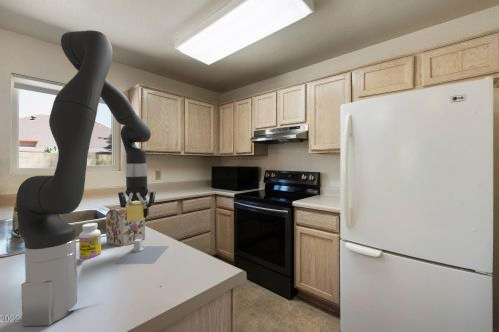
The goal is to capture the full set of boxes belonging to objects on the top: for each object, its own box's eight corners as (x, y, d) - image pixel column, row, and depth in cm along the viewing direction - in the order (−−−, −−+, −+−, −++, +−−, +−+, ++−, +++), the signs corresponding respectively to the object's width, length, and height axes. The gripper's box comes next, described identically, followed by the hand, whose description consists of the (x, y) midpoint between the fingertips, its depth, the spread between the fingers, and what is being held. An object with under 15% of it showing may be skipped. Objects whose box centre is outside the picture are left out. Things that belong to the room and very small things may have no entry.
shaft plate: (153, 266, 78) (153, 251, 78) (113, 267, 78) (112, 252, 77) (169, 248, 94) (169, 236, 94) (135, 249, 94) (135, 236, 93)
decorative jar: (129, 235, 111) (128, 199, 111) (146, 238, 106) (145, 200, 106) (105, 243, 100) (104, 203, 100) (122, 247, 95) (121, 205, 95)
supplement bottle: (76, 263, 81) (75, 227, 81) (84, 255, 88) (83, 222, 87) (97, 260, 83) (96, 226, 83) (103, 253, 89) (103, 221, 89)
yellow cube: (141, 220, 87) (141, 204, 86) (126, 220, 86) (126, 204, 86) (147, 216, 92) (147, 202, 92) (134, 217, 92) (133, 202, 92)
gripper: (158, 174, 93) (159, 215, 93) (123, 174, 92) (124, 215, 93) (151, 175, 85) (152, 219, 86) (112, 176, 85) (113, 220, 85)
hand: (137, 217), depth 89 cm, fingers closed on yellow cube, 5 cm apart
